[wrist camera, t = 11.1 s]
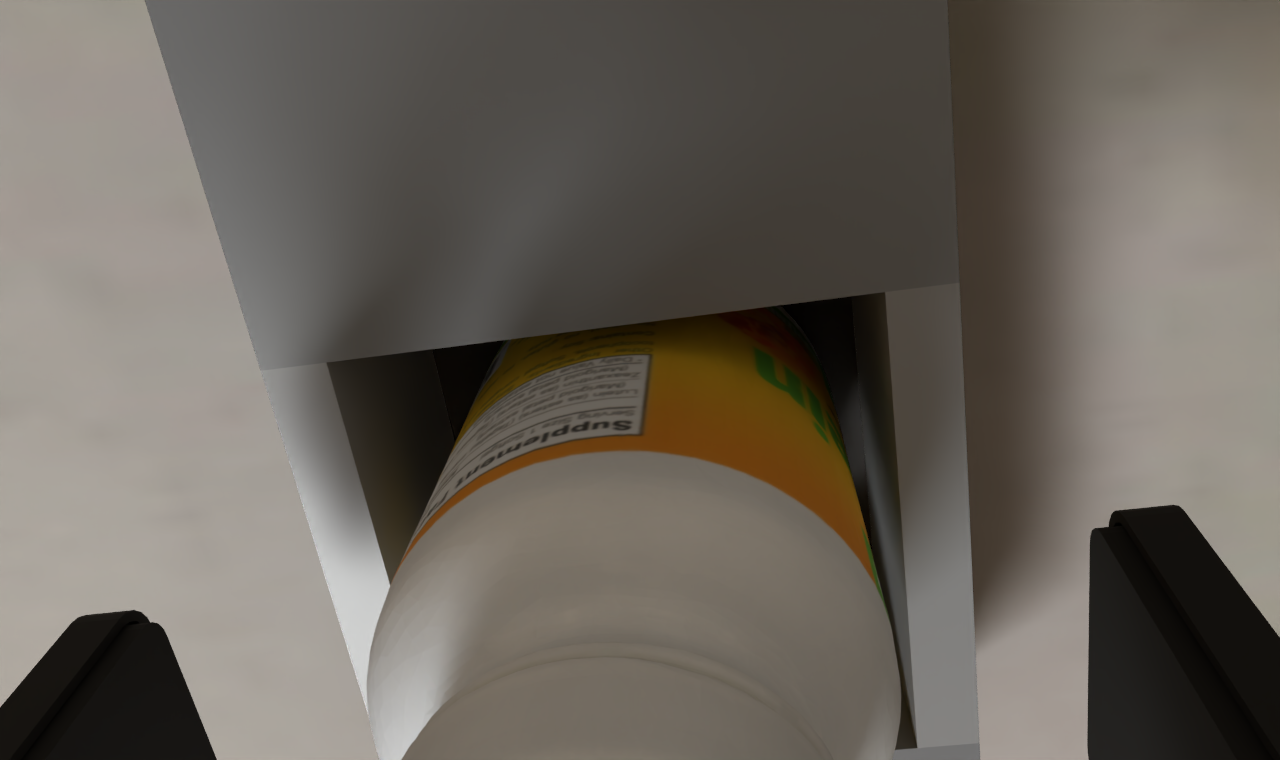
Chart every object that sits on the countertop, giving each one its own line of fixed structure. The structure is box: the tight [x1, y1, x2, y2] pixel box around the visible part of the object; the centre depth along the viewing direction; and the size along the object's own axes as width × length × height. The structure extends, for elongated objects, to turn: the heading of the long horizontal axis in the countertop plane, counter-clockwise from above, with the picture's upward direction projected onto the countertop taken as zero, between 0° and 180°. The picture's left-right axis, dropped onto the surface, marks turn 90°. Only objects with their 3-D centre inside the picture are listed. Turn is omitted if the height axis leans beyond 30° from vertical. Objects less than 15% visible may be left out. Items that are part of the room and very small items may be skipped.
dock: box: [145, 0, 980, 760], centre depth 15 cm, size 14×8×4 cm, turn 9°
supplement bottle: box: [367, 305, 901, 760], centre depth 13 cm, size 5×5×10 cm
